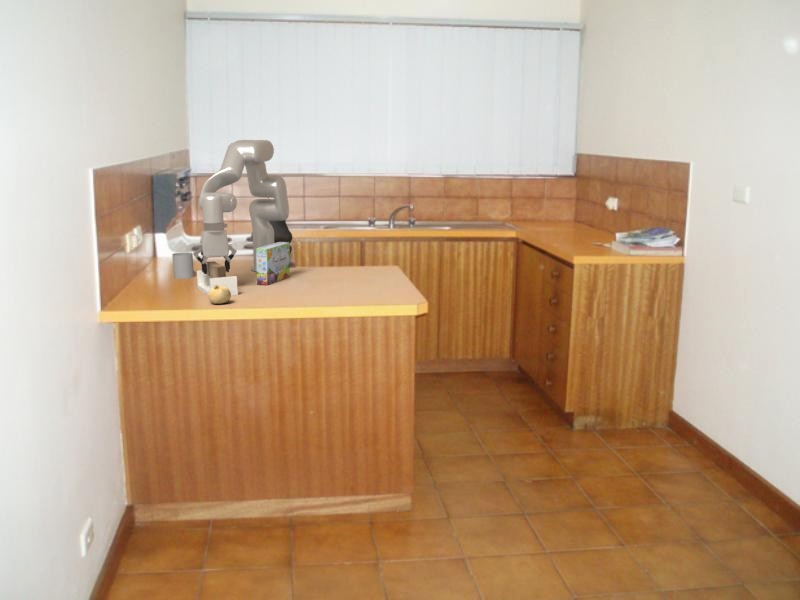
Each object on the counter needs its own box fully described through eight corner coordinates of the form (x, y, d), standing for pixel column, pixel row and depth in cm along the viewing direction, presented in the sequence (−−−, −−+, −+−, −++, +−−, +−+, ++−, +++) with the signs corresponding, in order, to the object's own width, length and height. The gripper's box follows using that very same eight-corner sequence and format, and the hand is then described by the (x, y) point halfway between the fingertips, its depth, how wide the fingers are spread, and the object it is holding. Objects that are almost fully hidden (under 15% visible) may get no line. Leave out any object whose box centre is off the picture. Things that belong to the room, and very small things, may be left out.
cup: (188, 279, 328) (186, 255, 326) (170, 278, 330) (168, 255, 328) (197, 275, 336) (195, 252, 334) (179, 275, 338) (178, 252, 336)
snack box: (268, 285, 314) (267, 248, 310) (256, 285, 315) (254, 248, 312) (291, 276, 333) (290, 241, 330) (279, 276, 335) (277, 241, 332)
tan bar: (215, 273, 309) (214, 261, 308) (226, 280, 295) (225, 267, 294) (206, 274, 307) (206, 262, 306) (218, 281, 294) (217, 267, 293)
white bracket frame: (222, 285, 314) (221, 268, 312) (237, 294, 296) (236, 276, 294) (197, 288, 309) (196, 270, 308) (211, 297, 291) (210, 279, 289)
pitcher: (244, 257, 387) (241, 206, 382) (267, 251, 406) (265, 203, 401) (279, 259, 379) (277, 207, 374) (302, 253, 399) (300, 204, 393)
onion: (210, 301, 285) (209, 282, 283) (232, 301, 285) (232, 281, 284) (206, 305, 277) (205, 286, 275) (229, 305, 277) (228, 286, 276)
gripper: (233, 225, 304) (235, 269, 308) (188, 227, 296) (191, 273, 300) (238, 226, 298) (241, 272, 302) (193, 229, 290) (196, 276, 294)
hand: (216, 272), depth 301 cm, fingers open, 8 cm apart
